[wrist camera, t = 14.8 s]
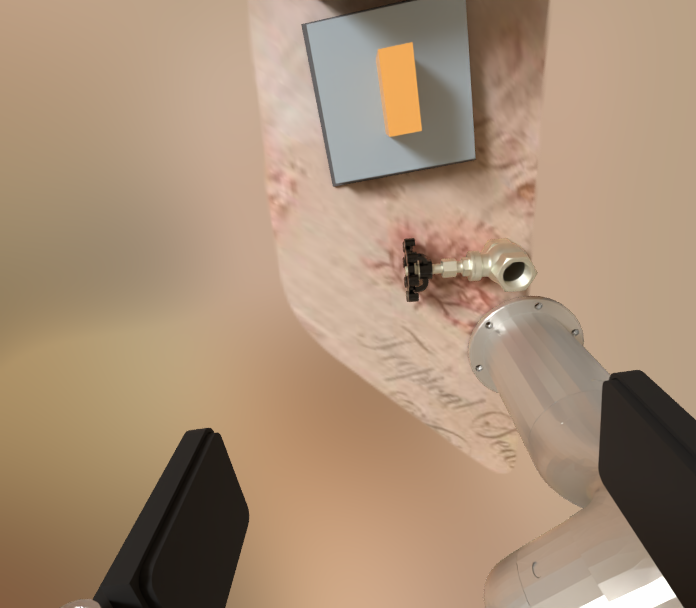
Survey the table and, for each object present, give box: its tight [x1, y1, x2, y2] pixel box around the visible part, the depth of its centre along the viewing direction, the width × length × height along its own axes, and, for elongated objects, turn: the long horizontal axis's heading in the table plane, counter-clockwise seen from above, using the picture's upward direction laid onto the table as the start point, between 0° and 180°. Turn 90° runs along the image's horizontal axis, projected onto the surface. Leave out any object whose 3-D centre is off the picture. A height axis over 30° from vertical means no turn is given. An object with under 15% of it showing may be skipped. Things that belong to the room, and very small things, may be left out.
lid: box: [306, 0, 475, 184], centre depth 36 cm, size 13×13×8 cm
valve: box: [403, 238, 537, 302], centre depth 43 cm, size 7×7×12 cm
